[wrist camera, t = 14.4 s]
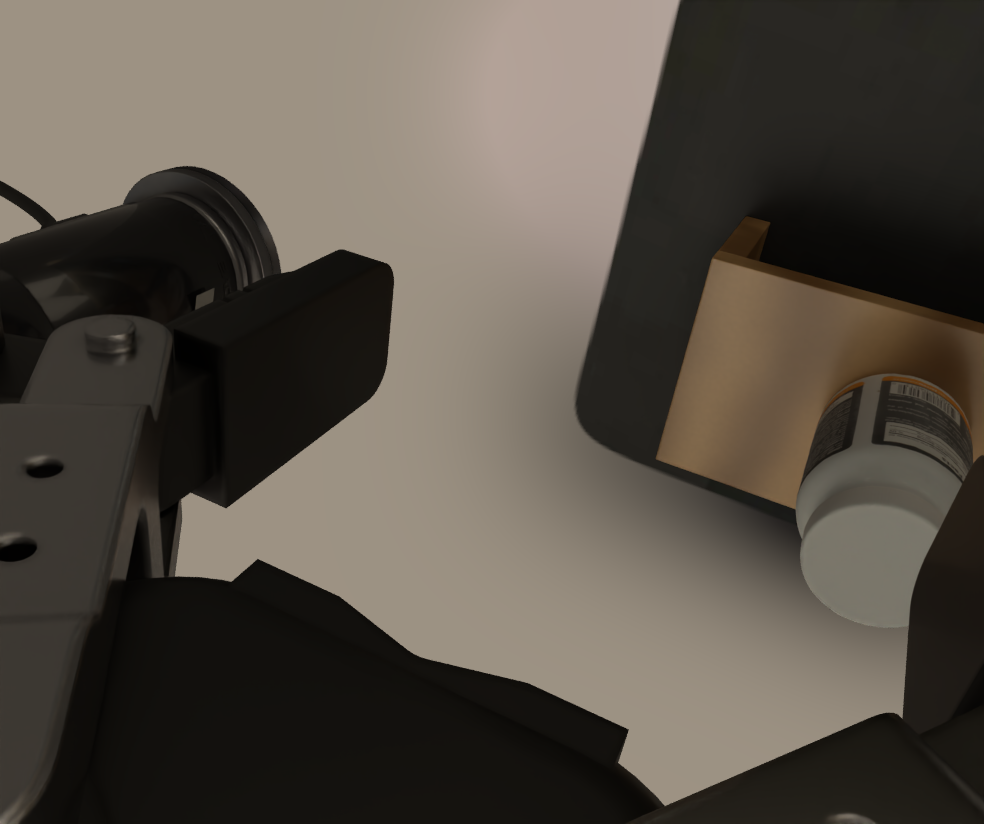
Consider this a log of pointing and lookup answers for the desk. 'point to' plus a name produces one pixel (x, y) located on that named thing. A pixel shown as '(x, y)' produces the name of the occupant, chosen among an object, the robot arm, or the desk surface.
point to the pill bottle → (879, 493)
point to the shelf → (797, 366)
